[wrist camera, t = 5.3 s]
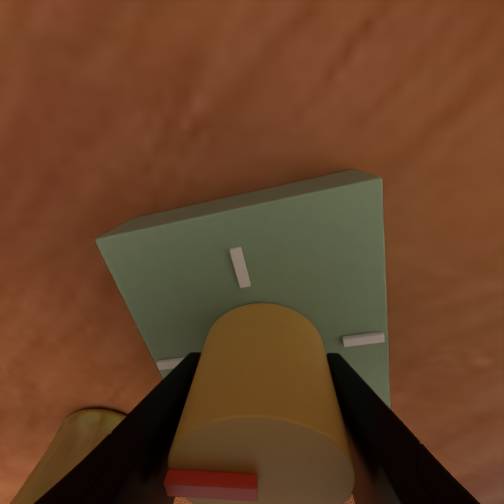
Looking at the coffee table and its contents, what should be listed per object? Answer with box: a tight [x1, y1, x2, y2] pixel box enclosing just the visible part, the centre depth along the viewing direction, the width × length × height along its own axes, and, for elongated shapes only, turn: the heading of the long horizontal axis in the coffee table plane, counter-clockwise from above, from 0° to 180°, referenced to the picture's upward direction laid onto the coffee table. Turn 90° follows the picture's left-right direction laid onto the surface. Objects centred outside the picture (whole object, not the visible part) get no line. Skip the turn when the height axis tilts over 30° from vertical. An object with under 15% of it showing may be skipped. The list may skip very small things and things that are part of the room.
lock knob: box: [164, 303, 356, 504], centre depth 8 cm, size 4×4×4 cm
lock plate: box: [95, 169, 391, 409], centre depth 11 cm, size 11×9×3 cm
